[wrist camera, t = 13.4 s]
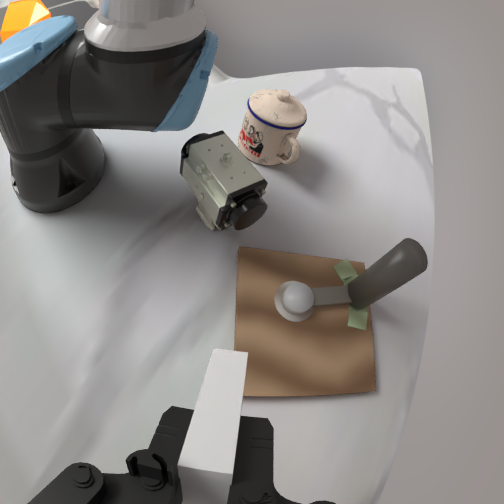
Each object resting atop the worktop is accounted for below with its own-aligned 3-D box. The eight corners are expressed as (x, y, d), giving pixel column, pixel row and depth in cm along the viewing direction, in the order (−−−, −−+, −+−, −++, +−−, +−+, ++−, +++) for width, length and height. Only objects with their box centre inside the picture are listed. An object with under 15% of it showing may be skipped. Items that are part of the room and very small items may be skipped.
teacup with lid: (227, 133, 50) (242, 77, 40) (272, 126, 53) (293, 75, 43) (259, 186, 46) (283, 129, 36) (307, 175, 50) (337, 124, 40)
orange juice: (37, 84, 47) (25, 4, 29) (10, 84, 45) (-4, 10, 28) (56, 66, 50) (50, -10, 33) (29, 66, 49) (20, -4, 32)
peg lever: (283, 317, 36) (331, 278, 26) (278, 286, 38) (321, 236, 27) (371, 308, 40) (431, 271, 29) (364, 280, 42) (420, 238, 31)
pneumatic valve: (204, 179, 44) (217, 116, 34) (251, 242, 41) (279, 186, 31) (171, 193, 42) (175, 128, 32) (216, 261, 39) (234, 206, 29)
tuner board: (238, 249, 41) (240, 244, 39) (359, 264, 44) (364, 260, 43) (232, 395, 32) (235, 395, 31) (370, 391, 36) (376, 390, 35)
